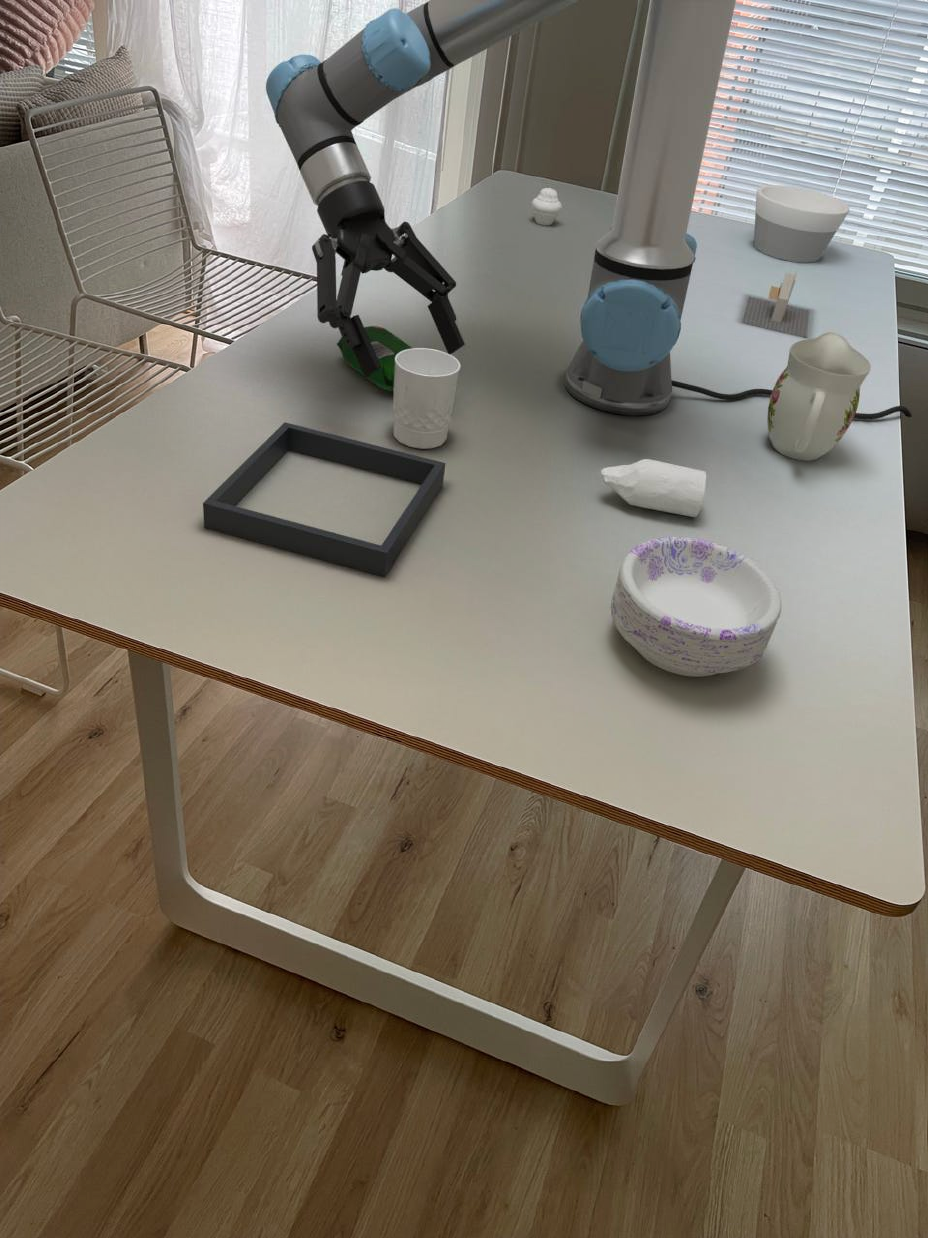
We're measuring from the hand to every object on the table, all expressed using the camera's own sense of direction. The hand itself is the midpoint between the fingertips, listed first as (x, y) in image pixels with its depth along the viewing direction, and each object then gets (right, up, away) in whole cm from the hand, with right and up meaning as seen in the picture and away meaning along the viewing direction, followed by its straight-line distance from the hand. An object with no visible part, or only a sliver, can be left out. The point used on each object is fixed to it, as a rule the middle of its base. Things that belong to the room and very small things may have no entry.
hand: (416, 360), depth 117 cm
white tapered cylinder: (+27, -18, -2) cm, 33 cm away
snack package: (-6, +2, +17) cm, 18 cm away
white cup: (0, -8, +5) cm, 10 cm away
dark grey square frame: (-9, -19, -10) cm, 23 cm away
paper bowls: (+27, -34, -22) cm, 49 cm away
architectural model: (+62, +23, +57) cm, 87 cm away
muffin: (+22, +51, +84) cm, 100 cm away
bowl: (+75, +47, +90) cm, 126 cm away
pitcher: (+51, -9, +15) cm, 54 cm away
